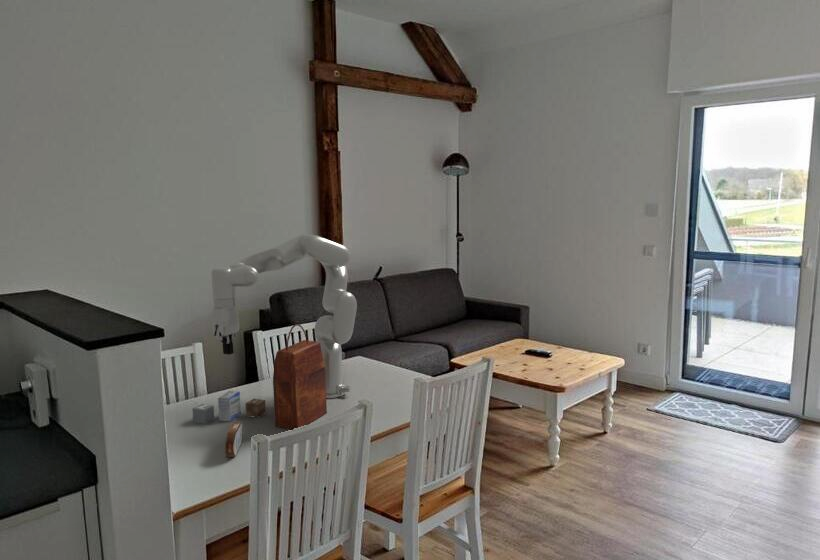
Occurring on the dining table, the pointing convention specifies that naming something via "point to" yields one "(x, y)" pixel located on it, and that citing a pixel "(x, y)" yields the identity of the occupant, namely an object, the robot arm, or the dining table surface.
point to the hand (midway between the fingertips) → (228, 353)
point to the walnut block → (255, 407)
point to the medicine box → (229, 406)
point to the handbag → (299, 384)
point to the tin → (234, 439)
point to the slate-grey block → (203, 413)
